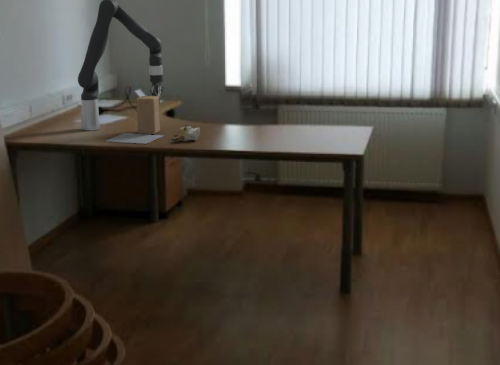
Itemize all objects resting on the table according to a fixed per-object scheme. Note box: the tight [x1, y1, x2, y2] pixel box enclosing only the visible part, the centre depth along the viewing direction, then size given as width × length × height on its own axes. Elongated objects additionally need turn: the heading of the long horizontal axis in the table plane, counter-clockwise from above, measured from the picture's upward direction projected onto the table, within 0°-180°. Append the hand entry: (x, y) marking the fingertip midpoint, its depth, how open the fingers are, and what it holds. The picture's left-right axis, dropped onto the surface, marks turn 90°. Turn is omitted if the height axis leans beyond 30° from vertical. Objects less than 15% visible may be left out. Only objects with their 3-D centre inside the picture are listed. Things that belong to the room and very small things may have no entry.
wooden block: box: [136, 95, 161, 135], centre depth 431 cm, size 10×10×20 cm
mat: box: [104, 132, 165, 145], centre depth 418 cm, size 24×22×1 cm
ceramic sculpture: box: [170, 124, 201, 142], centre depth 411 cm, size 11×9×15 cm
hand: (157, 104), depth 441 cm, fingers closed
